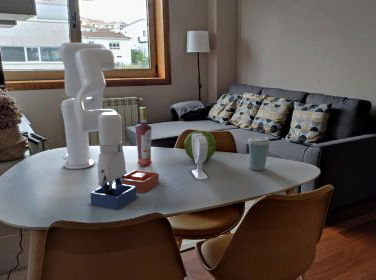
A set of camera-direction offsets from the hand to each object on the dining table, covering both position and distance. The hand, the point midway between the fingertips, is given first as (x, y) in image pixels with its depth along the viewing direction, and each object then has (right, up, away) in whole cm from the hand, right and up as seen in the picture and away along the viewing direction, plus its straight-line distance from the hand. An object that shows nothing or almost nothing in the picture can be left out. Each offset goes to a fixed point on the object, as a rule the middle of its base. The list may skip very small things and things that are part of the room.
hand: (114, 196), depth 129 cm
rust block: (+5, +2, +15) cm, 16 cm away
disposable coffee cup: (+55, +7, +42) cm, 69 cm away
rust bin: (+5, +2, +15) cm, 16 cm away
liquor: (+1, +8, +41) cm, 42 cm away
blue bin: (0, -2, 0) cm, 2 cm away
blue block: (0, 0, 0) cm, 0 cm away
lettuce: (+26, +11, +55) cm, 62 cm away
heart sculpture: (+28, +5, +31) cm, 42 cm away
